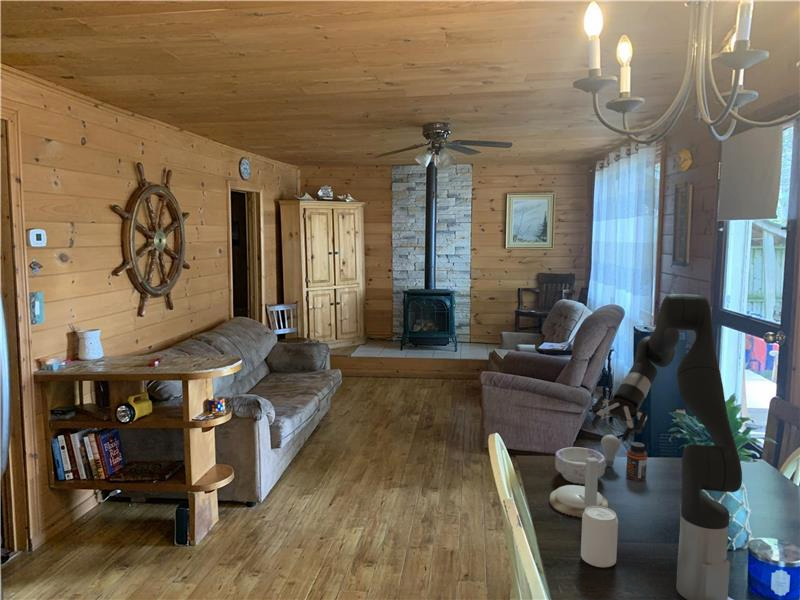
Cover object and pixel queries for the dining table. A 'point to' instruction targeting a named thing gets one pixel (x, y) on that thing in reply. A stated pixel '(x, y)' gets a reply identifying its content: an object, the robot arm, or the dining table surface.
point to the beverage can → (599, 536)
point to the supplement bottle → (636, 462)
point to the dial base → (570, 510)
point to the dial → (582, 489)
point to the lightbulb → (610, 448)
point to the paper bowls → (577, 463)
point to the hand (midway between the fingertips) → (607, 434)
